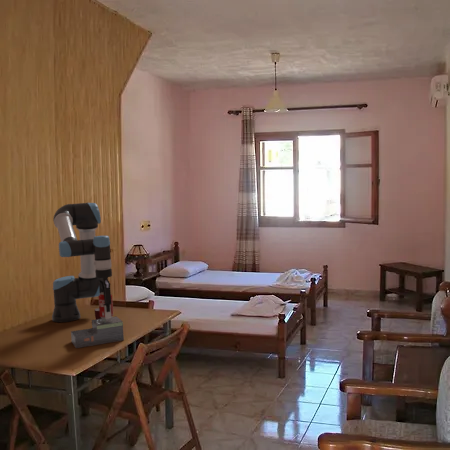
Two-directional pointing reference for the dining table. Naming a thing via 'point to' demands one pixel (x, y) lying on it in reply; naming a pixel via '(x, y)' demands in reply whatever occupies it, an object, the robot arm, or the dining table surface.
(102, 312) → the beverage can
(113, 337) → the stand
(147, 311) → the dining table surface
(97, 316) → the mug
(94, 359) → the dining table surface
